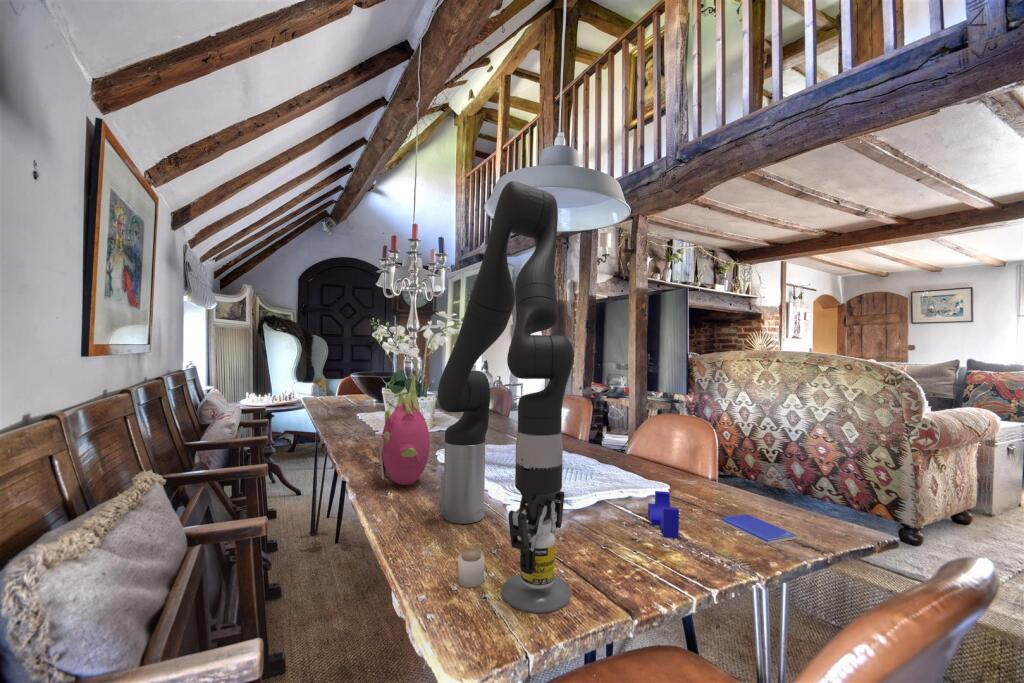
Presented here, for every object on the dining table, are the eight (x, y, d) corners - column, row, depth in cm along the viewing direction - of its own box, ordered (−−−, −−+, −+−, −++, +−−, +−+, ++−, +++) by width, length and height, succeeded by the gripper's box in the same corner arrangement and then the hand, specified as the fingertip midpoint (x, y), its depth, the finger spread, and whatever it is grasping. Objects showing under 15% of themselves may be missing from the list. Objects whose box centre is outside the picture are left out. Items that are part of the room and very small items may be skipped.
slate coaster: (488, 597, 73) (488, 593, 73) (525, 569, 83) (525, 566, 83) (549, 622, 67) (549, 617, 67) (582, 588, 76) (582, 585, 76)
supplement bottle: (531, 593, 71) (532, 529, 71) (514, 577, 76) (515, 517, 76) (561, 585, 74) (562, 523, 74) (543, 569, 79) (543, 511, 79)
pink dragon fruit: (377, 476, 136) (379, 373, 136) (425, 473, 140) (426, 373, 140) (379, 496, 119) (381, 379, 119) (433, 492, 123) (435, 378, 123)
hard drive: (797, 534, 97) (748, 513, 109) (767, 539, 94) (721, 517, 106) (797, 542, 97) (748, 520, 109) (767, 547, 94) (721, 524, 106)
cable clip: (648, 516, 109) (648, 490, 109) (667, 517, 109) (668, 491, 109) (656, 537, 98) (656, 508, 98) (678, 539, 97) (679, 510, 97)
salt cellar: (452, 582, 78) (452, 553, 78) (469, 571, 82) (469, 544, 82) (472, 590, 76) (473, 561, 75) (489, 579, 79) (489, 550, 79)
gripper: (541, 447, 83) (539, 543, 83) (493, 465, 71) (492, 576, 71) (579, 454, 79) (578, 554, 79) (536, 473, 67) (534, 591, 67)
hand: (537, 564), depth 75 cm, fingers closed on supplement bottle, 5 cm apart
